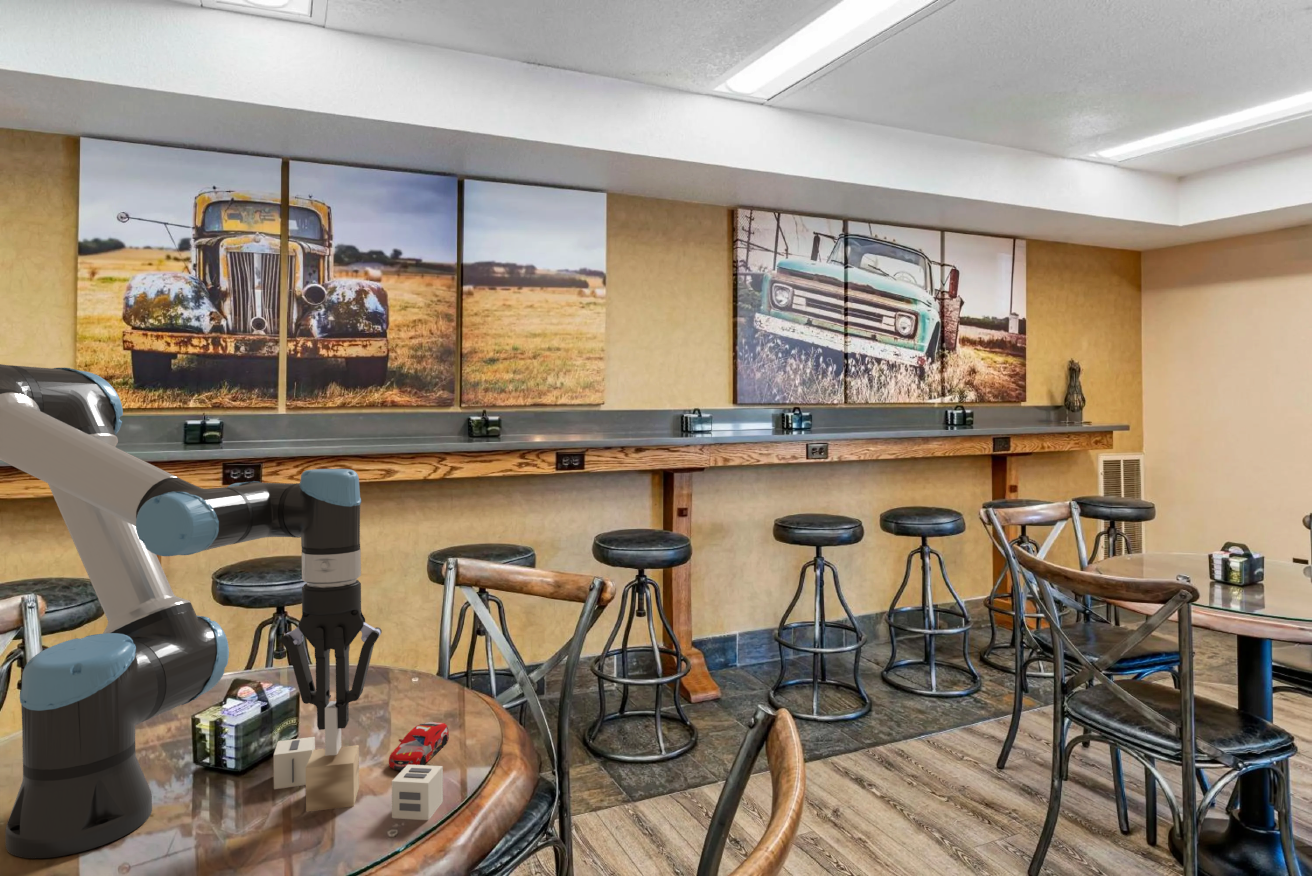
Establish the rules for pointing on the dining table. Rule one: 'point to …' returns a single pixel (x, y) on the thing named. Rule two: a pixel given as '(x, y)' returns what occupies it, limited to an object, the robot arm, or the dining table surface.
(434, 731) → the race car
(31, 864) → the dining table surface
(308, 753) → the marked block
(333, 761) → the plain block
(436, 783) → the marked block
